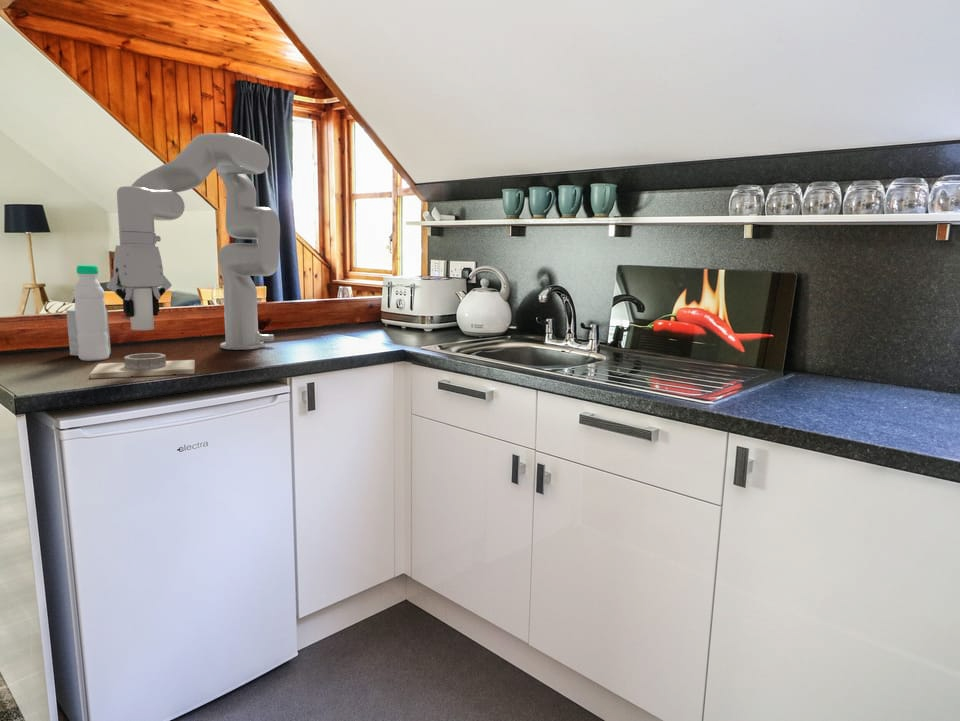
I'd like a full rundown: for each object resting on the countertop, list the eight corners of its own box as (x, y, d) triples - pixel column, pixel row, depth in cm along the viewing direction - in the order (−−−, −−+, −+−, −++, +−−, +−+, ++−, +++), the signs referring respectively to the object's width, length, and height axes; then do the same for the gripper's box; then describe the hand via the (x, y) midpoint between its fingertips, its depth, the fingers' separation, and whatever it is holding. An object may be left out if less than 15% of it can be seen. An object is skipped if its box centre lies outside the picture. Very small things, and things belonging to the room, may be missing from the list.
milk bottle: (95, 361, 169) (87, 265, 164) (72, 360, 170) (64, 265, 166) (115, 357, 175) (108, 265, 171) (93, 356, 177) (86, 264, 172)
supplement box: (112, 353, 181) (108, 309, 179) (86, 357, 174) (82, 311, 172) (94, 351, 184) (91, 307, 182) (69, 355, 177) (65, 309, 175)
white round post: (157, 329, 157) (155, 288, 156) (136, 330, 154) (133, 288, 152) (148, 327, 161) (145, 287, 159) (127, 328, 157) (124, 287, 155)
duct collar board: (194, 364, 169) (194, 350, 169) (194, 373, 157) (193, 358, 157) (99, 368, 161) (97, 353, 160) (90, 378, 149) (89, 362, 148)
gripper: (166, 241, 162) (169, 312, 165) (92, 238, 149) (97, 316, 152) (180, 241, 158) (183, 315, 161) (105, 238, 145) (110, 319, 148)
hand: (141, 315), depth 156 cm, fingers closed on white round post, 5 cm apart
